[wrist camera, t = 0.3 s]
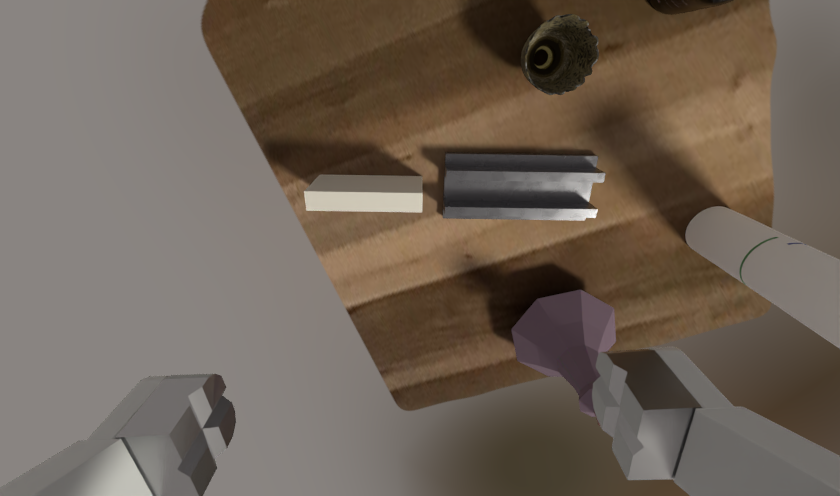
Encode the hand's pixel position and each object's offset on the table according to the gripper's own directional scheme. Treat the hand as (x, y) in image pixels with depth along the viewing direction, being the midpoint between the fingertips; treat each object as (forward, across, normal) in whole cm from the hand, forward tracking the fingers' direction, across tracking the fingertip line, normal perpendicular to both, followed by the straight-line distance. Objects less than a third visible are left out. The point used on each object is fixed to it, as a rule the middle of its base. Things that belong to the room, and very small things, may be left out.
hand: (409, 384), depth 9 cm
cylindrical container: (+46, -41, +18) cm, 65 cm away
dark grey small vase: (+46, -15, -6) cm, 49 cm away
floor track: (+46, -13, +10) cm, 49 cm away
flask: (+46, -20, +32) cm, 60 cm away
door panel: (+46, +7, +8) cm, 47 cm away
